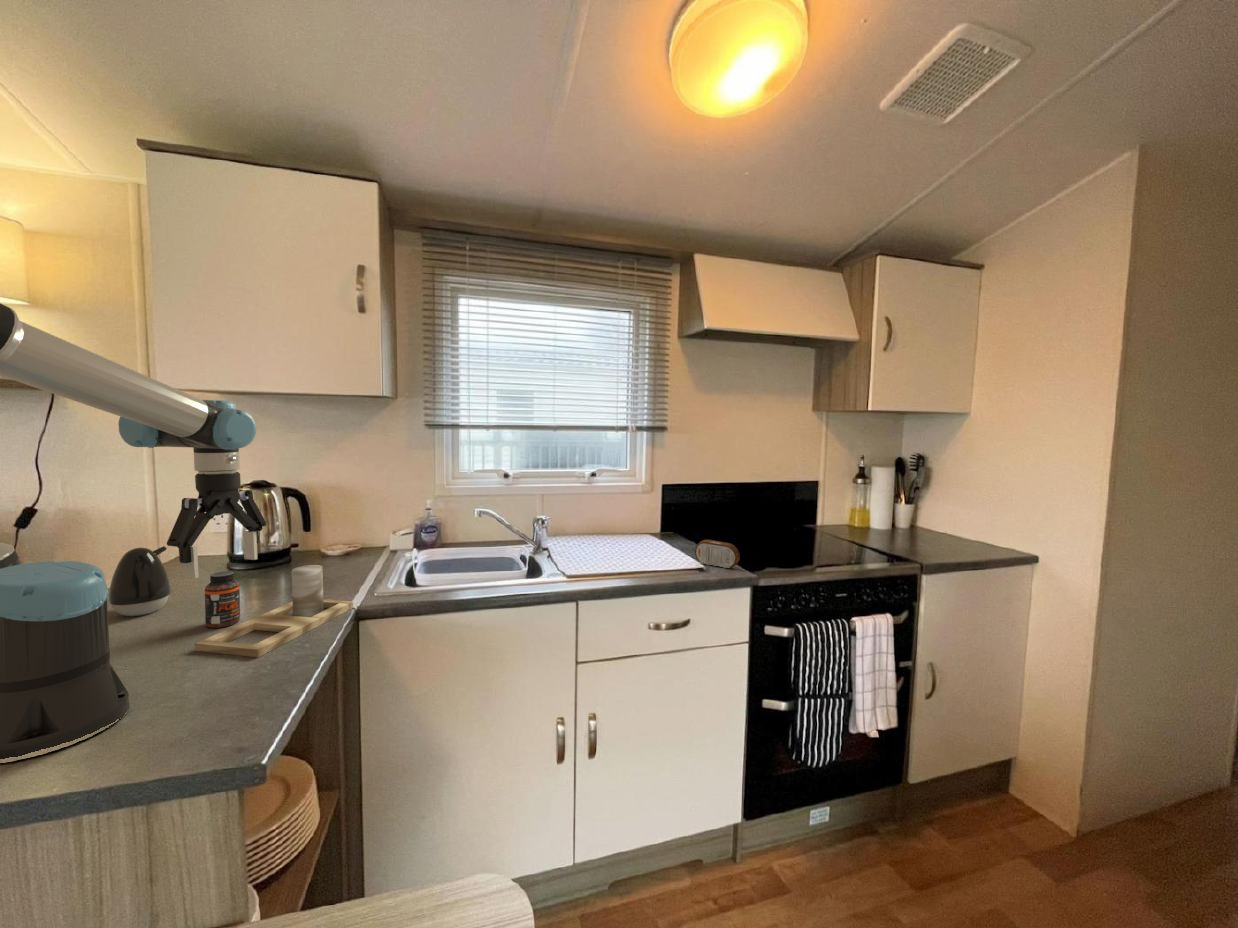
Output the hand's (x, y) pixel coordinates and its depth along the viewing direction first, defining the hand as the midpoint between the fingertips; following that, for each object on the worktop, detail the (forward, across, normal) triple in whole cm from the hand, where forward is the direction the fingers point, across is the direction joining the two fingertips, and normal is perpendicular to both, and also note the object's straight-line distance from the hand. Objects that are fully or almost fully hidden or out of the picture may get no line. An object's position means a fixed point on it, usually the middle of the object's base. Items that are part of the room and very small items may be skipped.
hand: (223, 567), depth 105 cm
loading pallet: (+12, 0, -14) cm, 19 cm away
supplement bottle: (+13, -1, 0) cm, 13 cm away
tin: (+14, +70, -111) cm, 132 cm away
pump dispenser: (+13, +1, +24) cm, 27 cm away
